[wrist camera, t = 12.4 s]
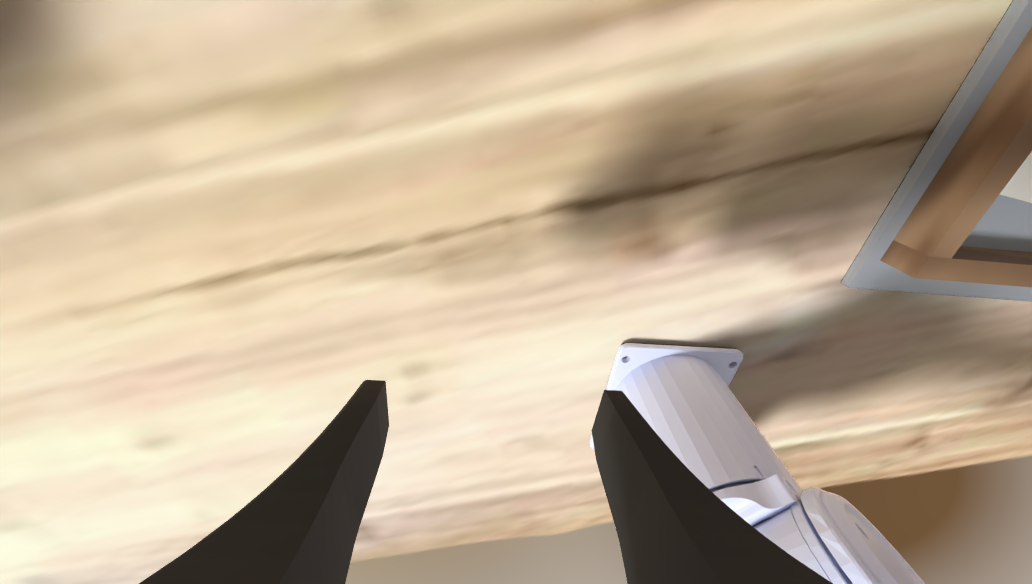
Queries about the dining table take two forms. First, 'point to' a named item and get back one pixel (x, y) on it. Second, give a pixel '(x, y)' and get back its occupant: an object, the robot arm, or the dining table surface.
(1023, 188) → the cream block
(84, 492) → the dining table surface
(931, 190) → the walnut frame
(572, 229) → the dining table surface
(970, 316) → the dining table surface
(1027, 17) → the base board
